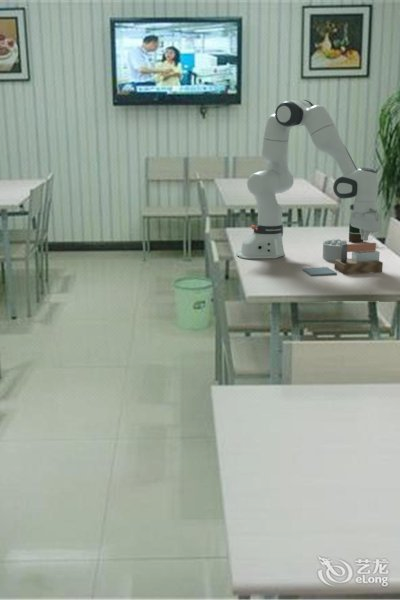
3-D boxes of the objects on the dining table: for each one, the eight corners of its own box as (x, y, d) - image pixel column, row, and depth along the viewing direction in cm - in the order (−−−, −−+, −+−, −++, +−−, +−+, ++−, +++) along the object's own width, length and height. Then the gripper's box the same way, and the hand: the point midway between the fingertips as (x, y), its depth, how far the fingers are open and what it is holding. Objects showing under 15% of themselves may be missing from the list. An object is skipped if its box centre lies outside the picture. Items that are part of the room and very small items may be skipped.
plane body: (343, 274, 283) (343, 264, 282) (334, 268, 292) (334, 259, 291) (382, 272, 286) (382, 262, 285) (372, 266, 295) (372, 257, 294)
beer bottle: (352, 239, 357) (354, 192, 351) (366, 241, 353) (369, 193, 346) (345, 241, 352) (347, 194, 345) (359, 243, 347) (361, 195, 340)
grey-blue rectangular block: (356, 262, 285) (356, 253, 284) (351, 260, 290) (352, 250, 289) (379, 261, 287) (379, 251, 286) (374, 258, 292) (374, 249, 291)
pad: (311, 276, 280) (311, 274, 280) (302, 270, 290) (302, 268, 290) (336, 274, 282) (336, 272, 282) (327, 268, 292) (327, 267, 292)
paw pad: (343, 256, 318) (344, 237, 316) (349, 262, 305) (350, 242, 303) (321, 256, 318) (321, 237, 316) (326, 262, 305) (326, 242, 303)
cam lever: (342, 262, 285) (342, 244, 283) (339, 260, 288) (340, 243, 286) (375, 260, 288) (376, 243, 286) (373, 259, 290) (374, 242, 288)
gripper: (385, 209, 280) (383, 243, 283) (361, 204, 299) (359, 235, 302) (371, 210, 278) (369, 244, 282) (347, 205, 297) (346, 236, 301)
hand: (364, 240), depth 292 cm, fingers closed
